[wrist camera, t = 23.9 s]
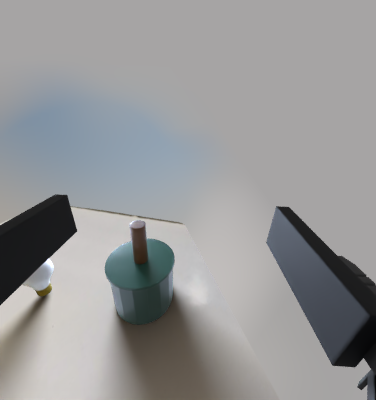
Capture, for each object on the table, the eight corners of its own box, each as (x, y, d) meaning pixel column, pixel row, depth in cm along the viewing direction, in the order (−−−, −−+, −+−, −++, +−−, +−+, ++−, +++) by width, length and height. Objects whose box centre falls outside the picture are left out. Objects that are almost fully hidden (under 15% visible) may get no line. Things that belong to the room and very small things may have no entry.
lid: (181, 248, 42) (182, 211, 38) (161, 301, 30) (159, 256, 26) (128, 238, 44) (123, 203, 40) (89, 283, 32) (77, 240, 28)
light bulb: (62, 279, 45) (51, 247, 40) (59, 299, 40) (45, 266, 36) (33, 287, 42) (17, 255, 38) (25, 310, 37) (6, 275, 33)
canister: (178, 279, 46) (179, 247, 41) (161, 332, 35) (159, 295, 30) (133, 269, 48) (129, 238, 44) (103, 316, 37) (93, 279, 32)
